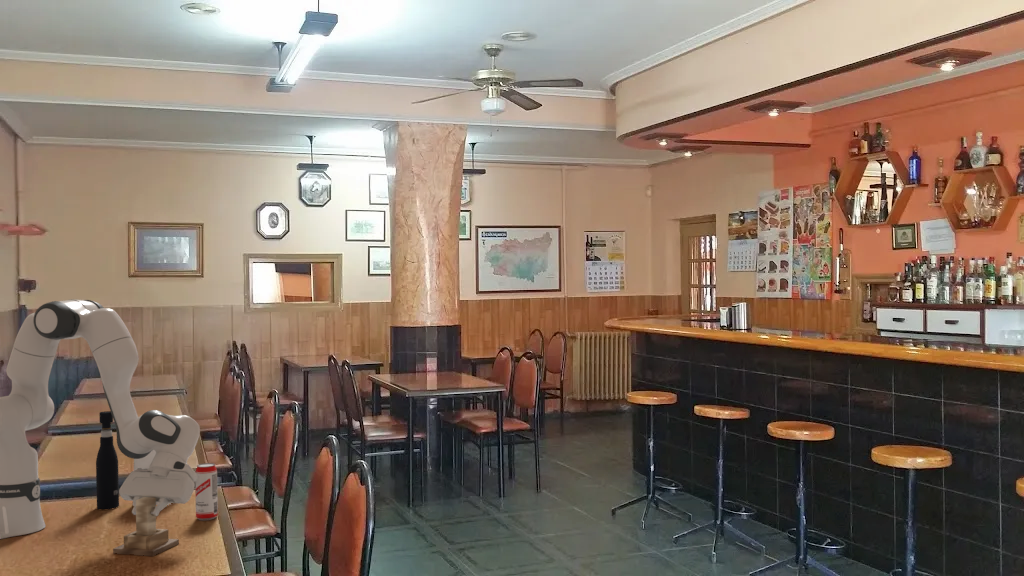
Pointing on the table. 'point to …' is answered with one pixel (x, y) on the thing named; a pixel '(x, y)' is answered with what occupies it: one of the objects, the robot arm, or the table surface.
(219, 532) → the table surface
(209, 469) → the beer can
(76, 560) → the table surface
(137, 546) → the wooden socket base
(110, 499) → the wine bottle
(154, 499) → the beige rectangular block
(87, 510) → the table surface
